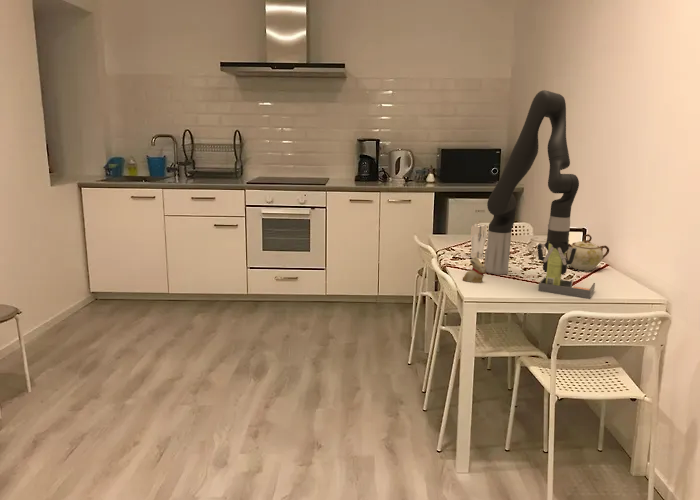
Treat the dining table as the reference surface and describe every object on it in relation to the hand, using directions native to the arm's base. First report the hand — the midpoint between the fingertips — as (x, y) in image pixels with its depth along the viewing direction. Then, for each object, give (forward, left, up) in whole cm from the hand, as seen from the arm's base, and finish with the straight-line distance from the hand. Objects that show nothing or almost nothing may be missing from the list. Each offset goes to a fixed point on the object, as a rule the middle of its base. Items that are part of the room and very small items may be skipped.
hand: (554, 272), depth 224 cm
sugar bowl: (+5, +42, -7) cm, 43 cm away
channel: (+5, +1, -6) cm, 8 cm away
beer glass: (-40, +35, -7) cm, 54 cm away
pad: (+10, +5, -6) cm, 13 cm away
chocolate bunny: (-29, -5, -7) cm, 30 cm away
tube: (0, 0, -7) cm, 7 cm away
